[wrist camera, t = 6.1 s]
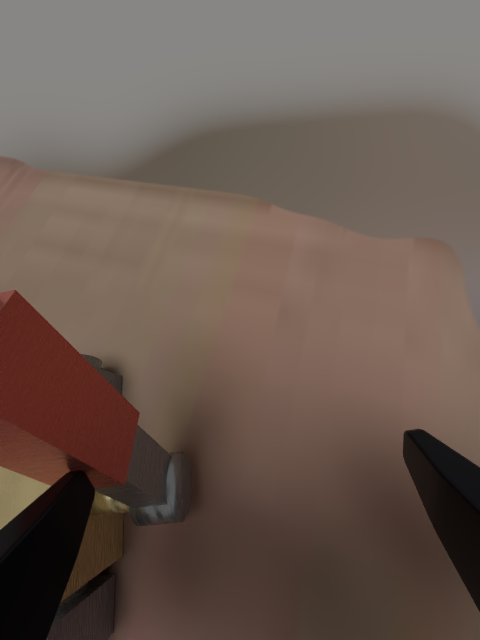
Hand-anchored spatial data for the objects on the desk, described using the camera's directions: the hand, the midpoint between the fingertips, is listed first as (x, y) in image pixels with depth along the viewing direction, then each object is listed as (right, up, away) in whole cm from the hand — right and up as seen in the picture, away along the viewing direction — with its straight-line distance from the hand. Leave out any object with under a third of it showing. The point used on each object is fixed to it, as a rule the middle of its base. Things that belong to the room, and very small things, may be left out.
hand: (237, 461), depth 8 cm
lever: (-3, -5, +7) cm, 10 cm away
